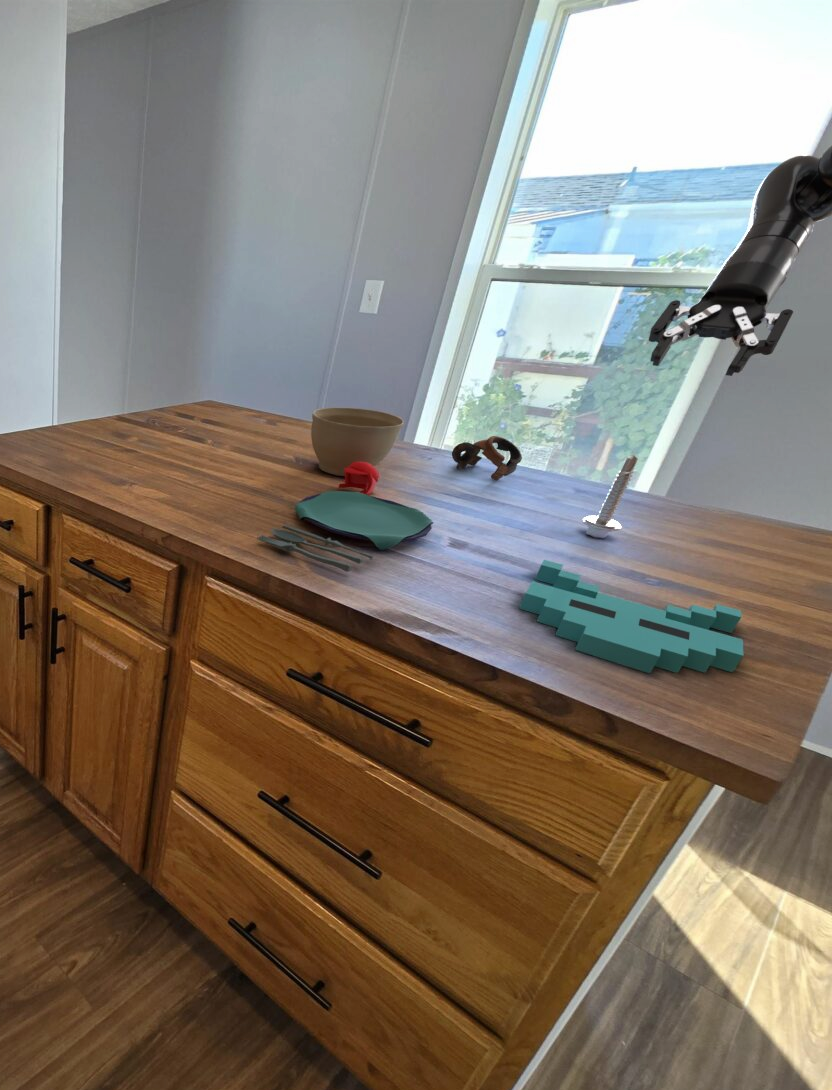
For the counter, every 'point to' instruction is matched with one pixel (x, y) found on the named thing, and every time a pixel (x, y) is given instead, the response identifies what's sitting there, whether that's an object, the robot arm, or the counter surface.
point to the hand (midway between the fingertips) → (692, 367)
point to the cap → (361, 477)
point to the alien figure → (633, 626)
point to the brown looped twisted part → (488, 455)
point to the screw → (611, 503)
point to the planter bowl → (352, 437)
